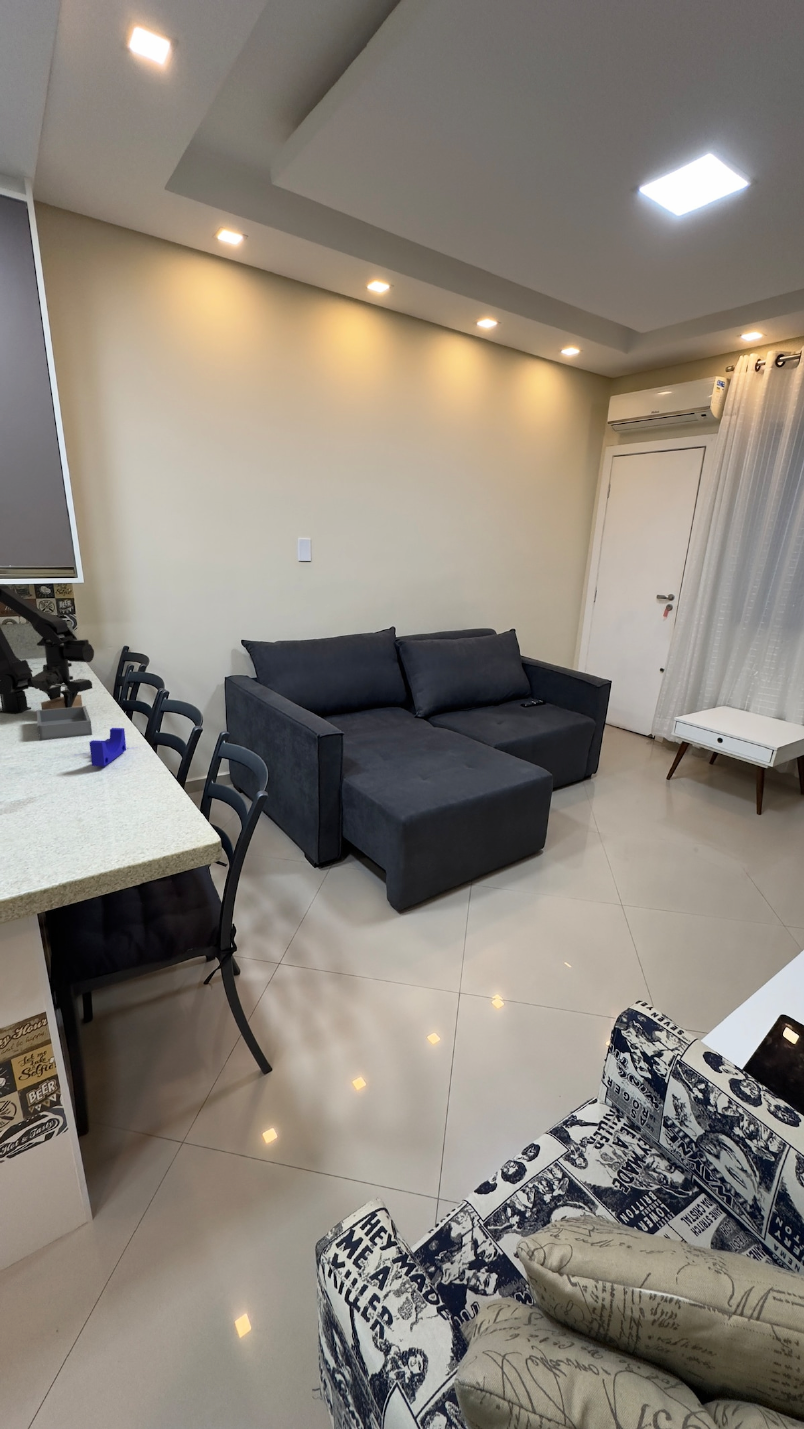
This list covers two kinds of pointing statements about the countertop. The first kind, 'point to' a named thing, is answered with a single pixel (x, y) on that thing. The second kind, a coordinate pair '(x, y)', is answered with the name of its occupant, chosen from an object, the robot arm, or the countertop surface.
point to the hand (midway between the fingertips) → (63, 710)
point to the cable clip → (108, 747)
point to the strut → (60, 703)
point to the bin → (63, 723)
